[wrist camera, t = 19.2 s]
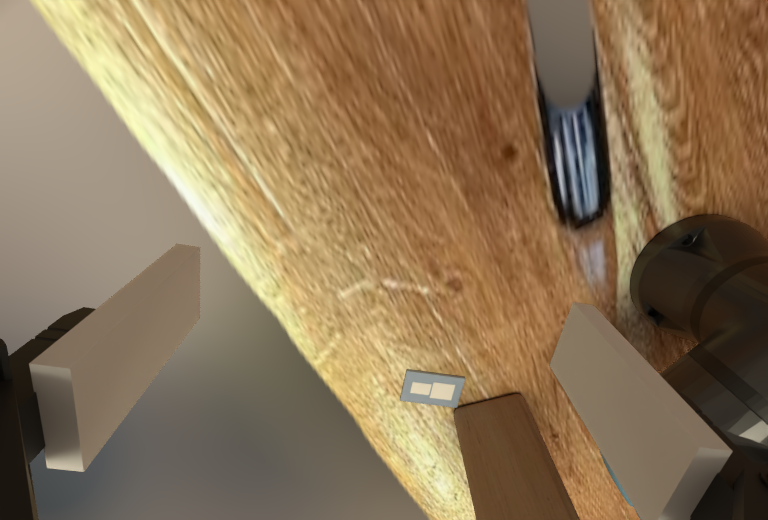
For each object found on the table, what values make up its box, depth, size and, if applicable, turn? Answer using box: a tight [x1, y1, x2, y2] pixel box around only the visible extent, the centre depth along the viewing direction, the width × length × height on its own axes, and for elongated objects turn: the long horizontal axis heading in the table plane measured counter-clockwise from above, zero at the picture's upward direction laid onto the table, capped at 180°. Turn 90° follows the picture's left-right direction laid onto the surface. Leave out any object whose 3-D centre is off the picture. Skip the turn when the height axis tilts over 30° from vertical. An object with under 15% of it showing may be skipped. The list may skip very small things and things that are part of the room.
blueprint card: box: [400, 369, 465, 408], centre depth 59 cm, size 8×5×1 cm, turn 81°
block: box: [454, 394, 580, 520], centre depth 53 cm, size 10×10×20 cm
